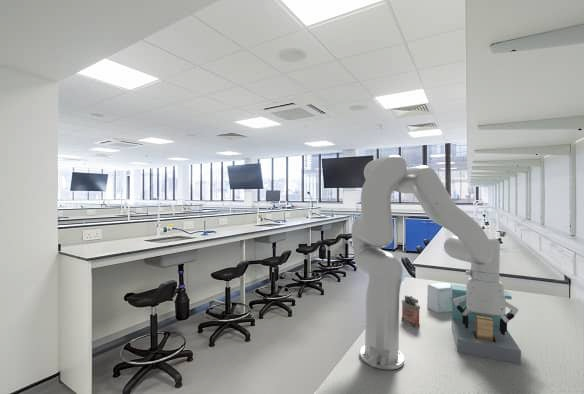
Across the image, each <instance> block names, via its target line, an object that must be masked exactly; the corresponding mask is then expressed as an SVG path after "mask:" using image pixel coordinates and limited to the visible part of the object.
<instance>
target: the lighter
mask: <svg viewBox="0 0 584 394" xmlns="http://www.w3.org/2000/svg"><path fill="white" fill-rule="evenodd" d="M401 304H402V305H401V321H402V322H404V323H405V324H407V325H409V326H411V327H413V328H420V327H421V323H420V309H421V306H420V305H419V300H418V299H416V298H414V297H413V295H412V296H411V295H410V296H409V295H406V294H405V295H404V299H402V300H401Z"/></svg>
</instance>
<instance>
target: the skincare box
mask: <svg viewBox="0 0 584 394" xmlns="http://www.w3.org/2000/svg"><path fill="white" fill-rule="evenodd" d="M451 285H452V284H451V283H448V282H438V283H437V282H436V283H427V298H426V299H427V301H426V302H427V303H426V308H428V309H429V310H431V311H433V312H434V313H437V314H439V313H440V314H441V313H448V312H452V290H451Z"/></svg>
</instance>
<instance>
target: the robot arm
mask: <svg viewBox="0 0 584 394" xmlns="http://www.w3.org/2000/svg"><path fill="white" fill-rule="evenodd" d="M407 163H408V162H407V160H406V159H405V158H404V157H403V156H401V155H397V154H391V155H390V154H389V155H386V156H382V157H380V158H376V159H373V160H370V161H369V162H368V163H367V164H365V166H364V169H363V177H364V180H365V181H364V183H363V185H362V188H361V193H360V205H361V207H360V208H361V210H360V211H361V214H360V215H358V216H356V217H355V219H354V220H353V221H352V225H351V231H350V232H351V241H352V251H353V258H354V263H355V266H356V268H357V269H358V271H359V272H360V273H361V274H362V275H364V276H366V277H367V278H368V283H367V287H366V290H365V320H364V321H365V324H364V326H365V327H364V328H365V329H364V330H365V331H364V332H365V334H364V338H365V339H364V345H363V346H361V348H360V349H359V357H360V359H361V360H362V361H363V362H364V363H365V364H367V365H369V366H370V367H373V368H375V369H379V370H386V371H391V370H397V369H399V368H401V367H403V366H404V364H405V357H404V356H405V355H404V354H403V353H402V352H401V351H400V349H399V348H400V347H399V346H400V345H399V344H400V343H399V342H400V341H399V340H400V335H399V334H400V292H401V284H402V280H403V276H404V268H403V264H402V263H401V261H400V259H399V258H398V257H397V256H396V255H394V254H393V253H391V252H389V251H387V250H383V249H382V248H386V247H388V246H390V245H391V244H393V242H394V241H393V240H394V238H395V231H394V229H395V228H394V221H393V213H392V203H391V202H392V201H391V199H392V194H393V192H395V193H396V192H397V193H400V194H401V193H402V194H413V195H414V196H415V198H416V200H417V201H418V202H419V203H418V204H420V207H421V208H422V209H423V211H424V214H425V215H426V216H427V218H429V220H431V221H432V222H433V223H435V224H437V225H439V226H441V227H442V228H444V229H446V230H448V231H449V232H451V233H452V234H453V235H452V236H450V237H447V239H446V240H445V242H444V244H443V248H444V251H445V254H446V255H448V256H449V257H451V258H452V259H455V260H459V261H463V262H467V263H470V269H469V270H465V275H466V276H467V275H468V276H470V277H468V279H467V284H466V286H467V288H466V295H464V296H461V297H458V298H454V299H453V301H454V303H455V305H456V307H457V309H458V310H459V311H460V312H461V313H462V324H464V325H465V328H466V329H468V315H467V314H468V313H469V312H475V313H481V314H487V315H494V316H500V317H501V318H500V332H501V334H502V335H505V332H507V330H508V323H509V322H510V320H512V319H514V318H515V316H516V315H517V313H518V312H519V309H518V307H516V306H515V305H513V304H511V303H509V302H508V301H505V296H504V291H505V290H504V289H505V288H504V284H503V283H502V282H501V281H500V266H501V265H500V260H501V258H500V257H501V254H500V252H501V247H500V246H501V243H500V241H499V239H497V238H495V237H489V236H487V234H486V232H485V231H484V229H483V227H481V226H480V225H481V224H479V223H478V222H477V221H476V220H474V219H473V218H472V216H470V215H468V214H467V213H466V212H465V211H464V210H463V209H461V208H460V207H459V206H457V205H456V204H455V202H454V200H453V199H452V197H451V195H450V193H449V192H448V191H447V189H446V187H445V186H444V183H443V182H442V180H441V178H440V177H439V175H438V173H437V172H436V171H435V170H434V168H433V167H431V166H428V165H418V166H417V165H416V166H412V167H408V164H407ZM462 301H465V303H466V306H465V307H464V308H462V307H461V306H460V304H459V302H462ZM506 308H508V309H509V312H507V313H506Z"/></svg>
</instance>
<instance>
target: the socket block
mask: <svg viewBox="0 0 584 394" xmlns="http://www.w3.org/2000/svg"><path fill="white" fill-rule="evenodd" d="M466 288H467V285H466V286H465V285H460V284H459V285H457V284H451V290H452V311H451V330H452V335H453V340H454V344H455V349H456V352H458V353H464V354H466V355H467V354H468V355H473V356H476V357H477V356H478V357H482V358H487V359H491V360H492V359H493V360H497V361H502V362H507V363H512V364H517V365H522V364H521V363H522V362H521V361H522V359H521V358H522V350H521V349H520V347H519V346H518V344H517V343H516V341H515V339H514V338H513V337H512V335H511V333H510V331H509V330H508V329H507V332H505V335H502V334H501V332H500V318H501V317H500V316H494V315H487V314H481V313H475V312H469V313H468V314H467V315H468V329H466V328H465V325H464V324H462V313H461V312H460V311H459V310H458V309H457V307H456V305H455V303H454V301H453V299H454V298H458V297H461V296H464V295H466ZM504 296H505V301H506V300H512V295H511V294H510V293H509V291H506V290H504ZM506 302H507V301H506ZM459 304H460V306H461V307H462V308H464V307H465V306H466V303H465V301H462V302H459ZM476 314H478V315H485V316H491V318H492V320H493V342H492V341H487V340H481V339H476Z"/></svg>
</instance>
